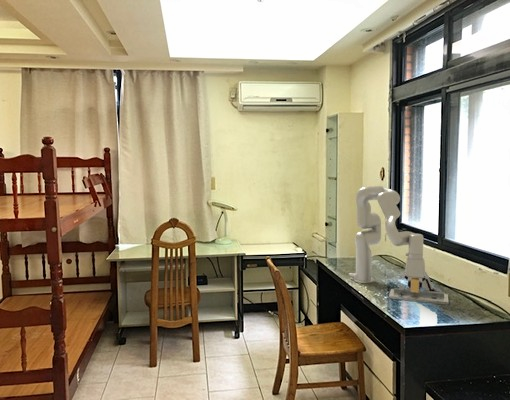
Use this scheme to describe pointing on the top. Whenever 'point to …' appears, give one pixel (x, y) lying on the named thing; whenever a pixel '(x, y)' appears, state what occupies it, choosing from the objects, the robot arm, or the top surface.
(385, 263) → the top surface
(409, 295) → the hole plate
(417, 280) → the block
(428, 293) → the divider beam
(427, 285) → the grey curved piece
